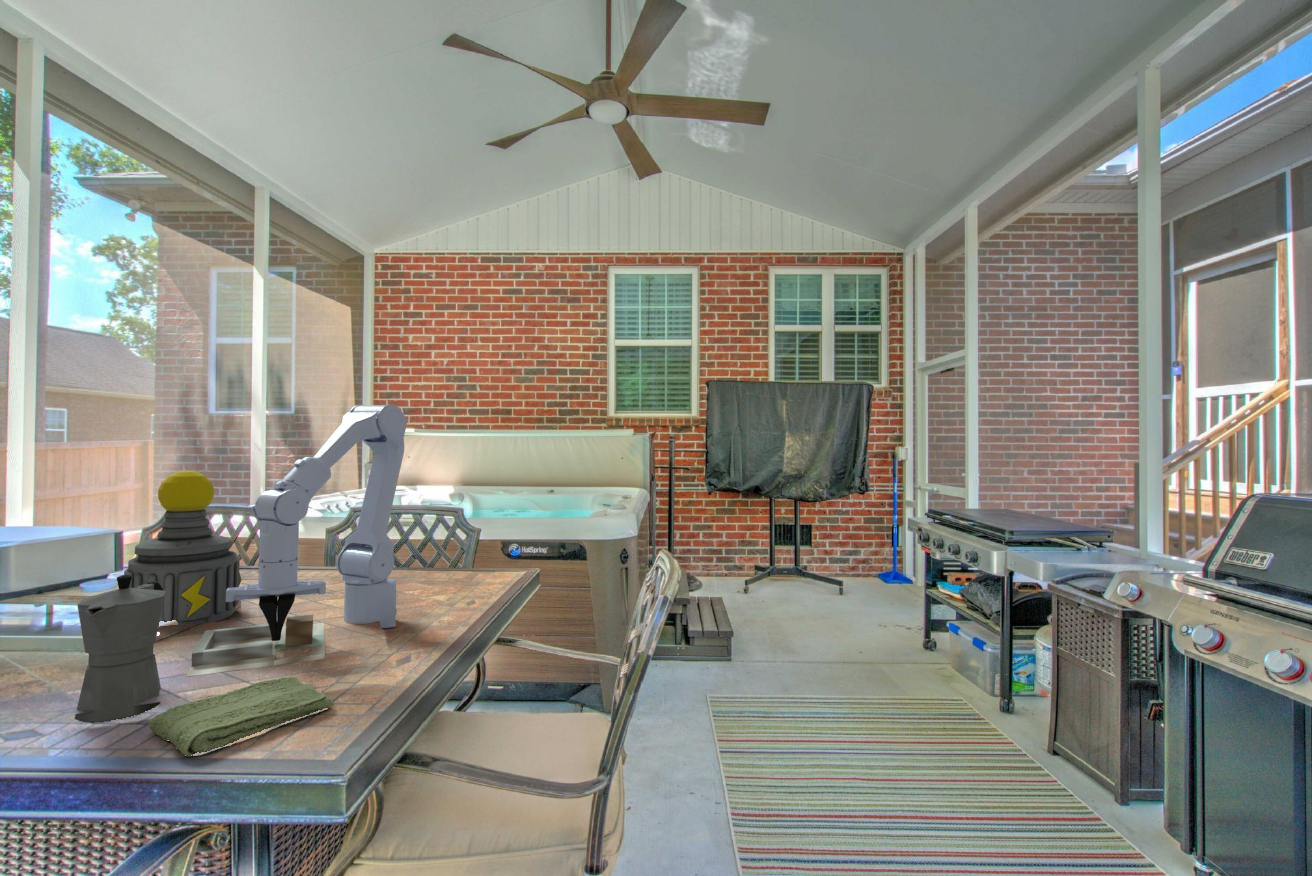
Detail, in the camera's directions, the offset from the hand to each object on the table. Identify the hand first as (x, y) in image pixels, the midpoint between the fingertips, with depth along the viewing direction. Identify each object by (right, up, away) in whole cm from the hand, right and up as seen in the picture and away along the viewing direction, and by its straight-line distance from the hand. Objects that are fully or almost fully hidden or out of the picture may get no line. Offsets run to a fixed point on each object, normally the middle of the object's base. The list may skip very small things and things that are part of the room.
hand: (276, 639), depth 105 cm
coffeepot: (-8, -2, -21) cm, 23 cm away
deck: (-2, -2, -1) cm, 3 cm away
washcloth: (+11, -3, -25) cm, 27 cm away
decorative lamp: (-30, -2, +19) cm, 36 cm away
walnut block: (+3, -1, +2) cm, 4 cm away
